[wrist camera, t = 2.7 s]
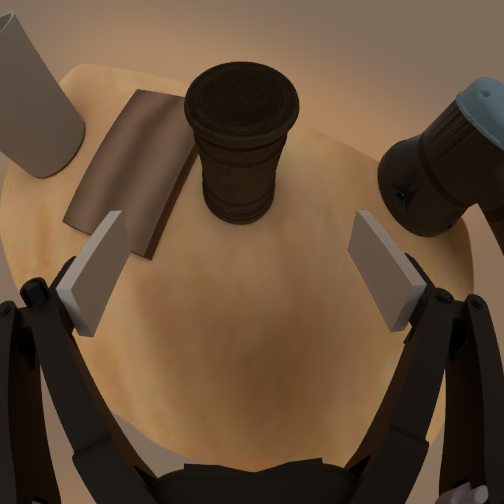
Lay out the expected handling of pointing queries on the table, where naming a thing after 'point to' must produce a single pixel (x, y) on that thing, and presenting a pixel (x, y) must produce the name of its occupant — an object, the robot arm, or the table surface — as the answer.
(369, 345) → the table surface
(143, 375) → the table surface
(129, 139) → the shelf board
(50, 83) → the cylinder vase
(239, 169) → the container
